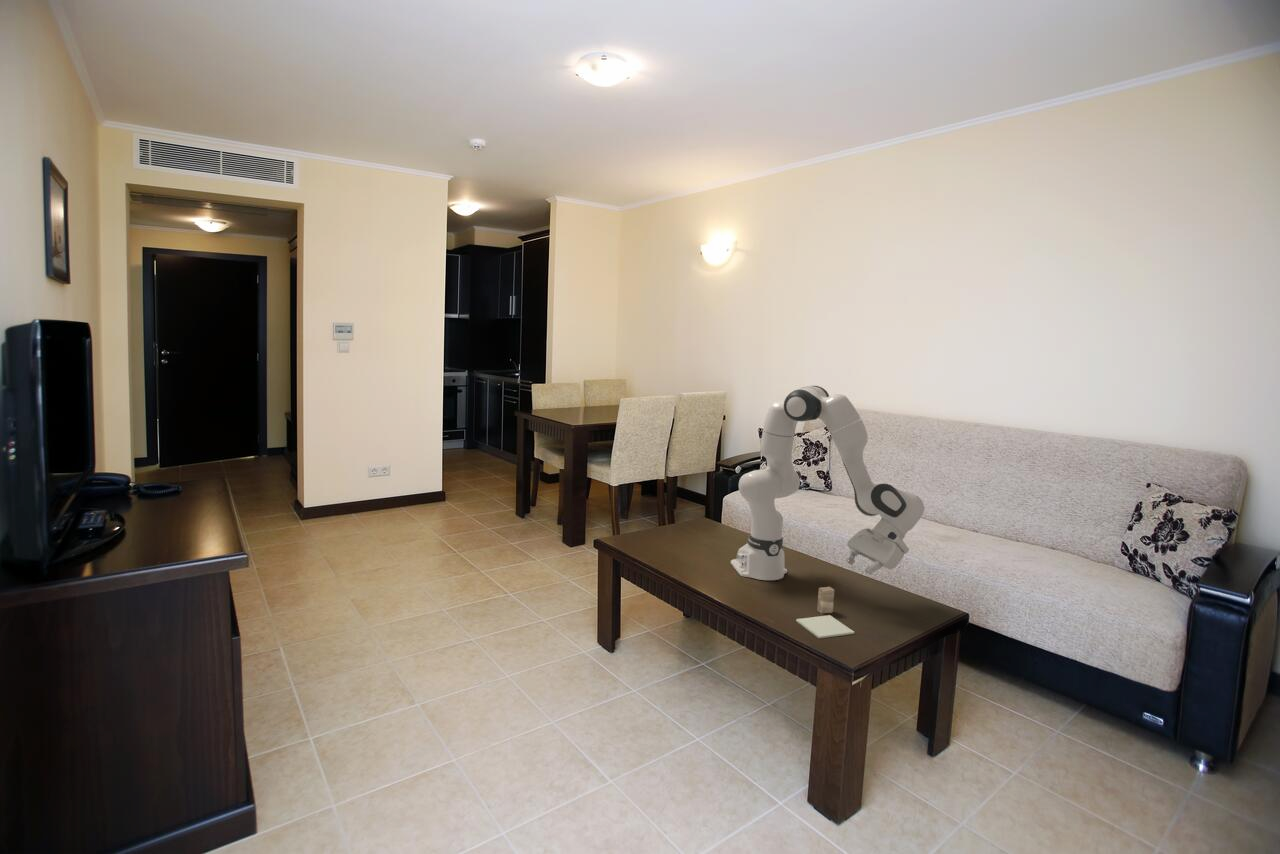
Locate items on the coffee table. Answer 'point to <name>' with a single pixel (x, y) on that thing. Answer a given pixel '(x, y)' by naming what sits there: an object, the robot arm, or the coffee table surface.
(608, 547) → the coffee table surface
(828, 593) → the card deck block
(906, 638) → the coffee table surface
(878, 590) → the coffee table surface
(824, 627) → the sage mat
